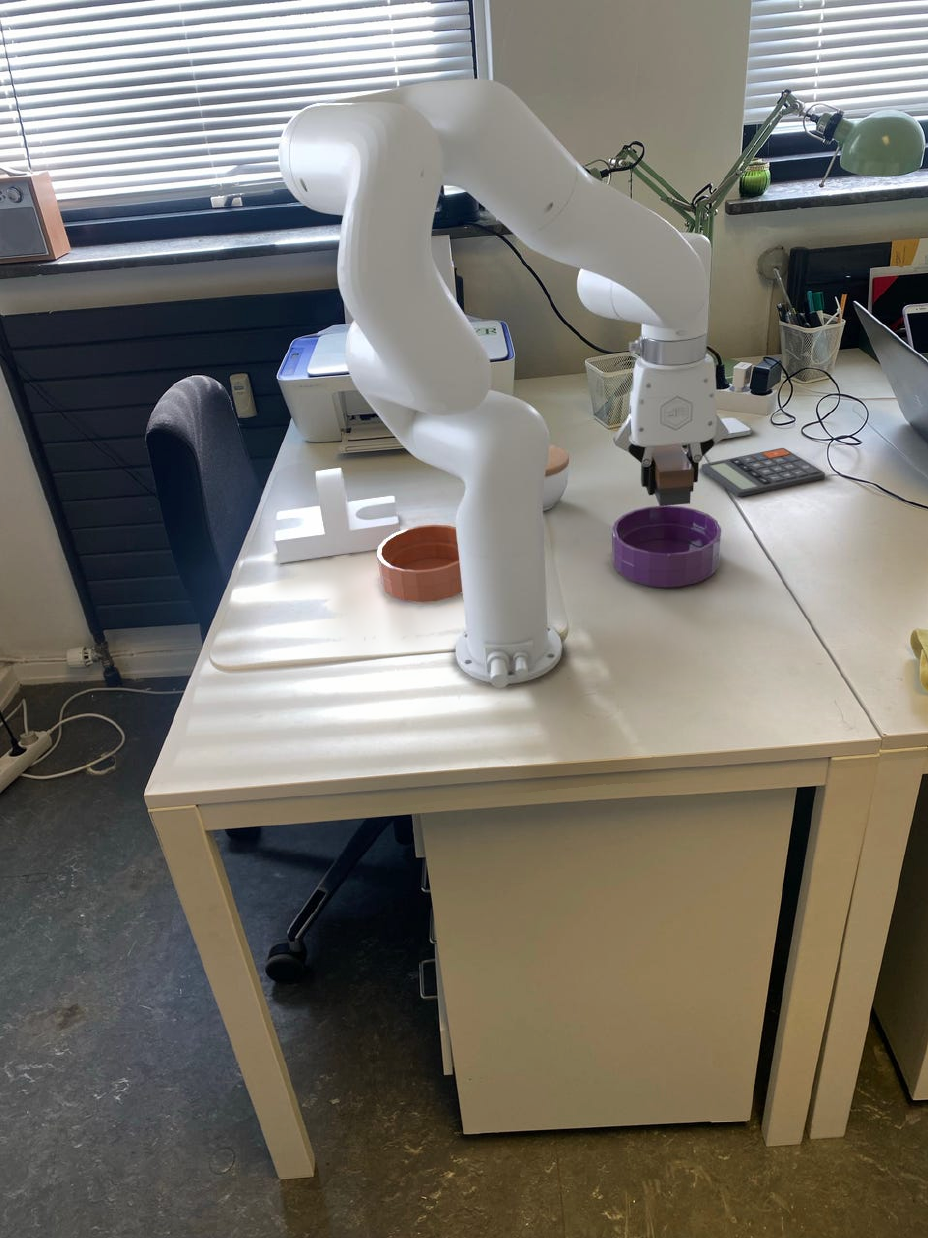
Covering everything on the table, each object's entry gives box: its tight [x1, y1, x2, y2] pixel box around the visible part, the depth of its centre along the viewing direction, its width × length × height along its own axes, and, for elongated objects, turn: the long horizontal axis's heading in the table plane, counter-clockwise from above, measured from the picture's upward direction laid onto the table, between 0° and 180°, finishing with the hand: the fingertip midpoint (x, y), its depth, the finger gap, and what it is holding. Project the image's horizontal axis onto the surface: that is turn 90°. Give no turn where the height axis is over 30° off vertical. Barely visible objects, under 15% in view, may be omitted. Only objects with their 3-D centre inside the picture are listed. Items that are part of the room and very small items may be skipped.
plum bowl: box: [611, 505, 723, 588], centre depth 120 cm, size 14×14×5 cm
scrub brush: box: [653, 444, 694, 506], centre depth 115 cm, size 9×4×5 cm, turn 0°
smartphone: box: [681, 416, 752, 446], centre depth 157 cm, size 7×1×15 cm
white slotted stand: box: [274, 467, 401, 564], centre depth 133 cm, size 18×10×11 cm, turn 98°
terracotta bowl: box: [376, 524, 463, 603], centre depth 122 cm, size 13×13×5 cm
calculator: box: [700, 447, 826, 498], centre depth 142 cm, size 12×1×15 cm
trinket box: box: [543, 444, 570, 512], centre depth 138 cm, size 11×11×9 cm
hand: (668, 487), depth 116 cm, fingers closed on scrub brush, 4 cm apart
